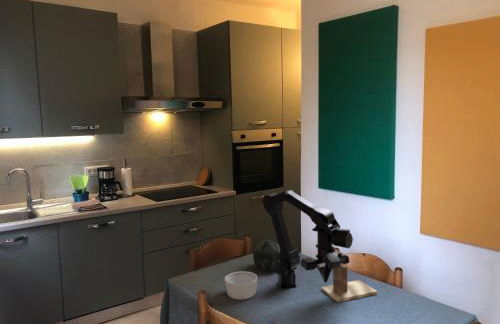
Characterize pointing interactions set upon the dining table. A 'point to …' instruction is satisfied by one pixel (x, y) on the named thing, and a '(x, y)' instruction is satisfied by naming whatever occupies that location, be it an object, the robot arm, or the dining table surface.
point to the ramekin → (241, 285)
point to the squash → (266, 255)
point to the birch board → (350, 291)
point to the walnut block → (340, 279)
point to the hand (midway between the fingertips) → (325, 282)
